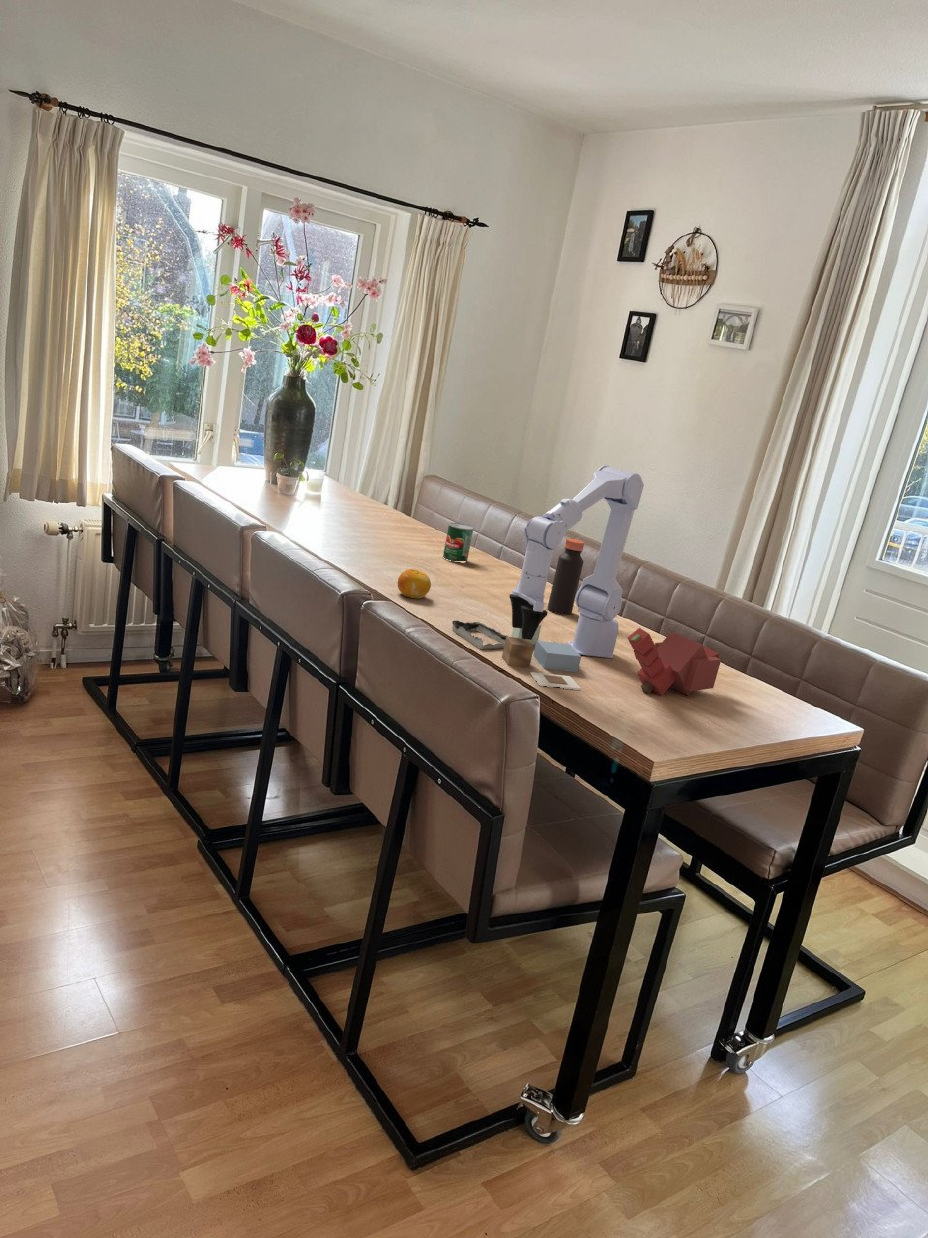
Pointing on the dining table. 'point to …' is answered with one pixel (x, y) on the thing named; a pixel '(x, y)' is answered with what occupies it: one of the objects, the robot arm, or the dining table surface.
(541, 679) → the card
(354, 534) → the dining table surface
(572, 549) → the bottle
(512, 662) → the walnut block
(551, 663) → the slate base block
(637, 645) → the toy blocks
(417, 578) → the fruit
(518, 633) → the sage block
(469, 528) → the canned tomato
